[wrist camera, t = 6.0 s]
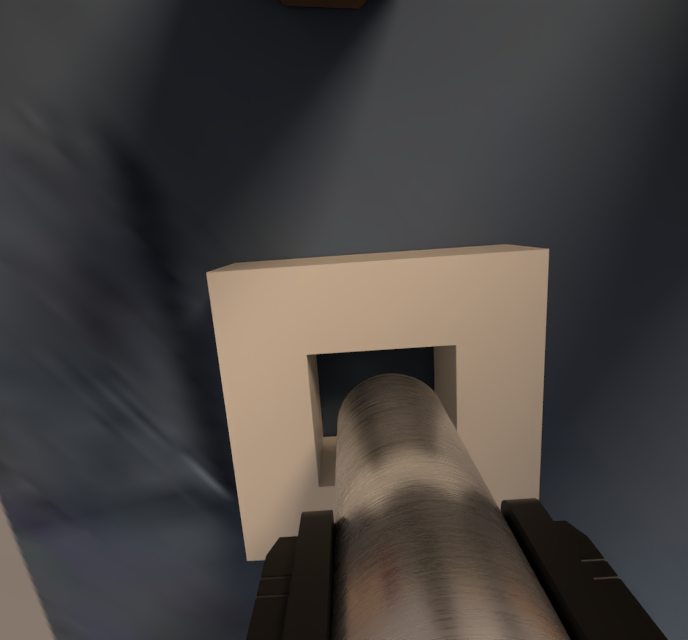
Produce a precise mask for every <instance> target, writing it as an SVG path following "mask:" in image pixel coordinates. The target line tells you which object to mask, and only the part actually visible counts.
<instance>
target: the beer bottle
mask: <svg viewBox="0 0 688 640" xmlns="http://www.w3.org/2000/svg"><path fill="white" fill-rule="evenodd" d="M279 1H280V2H281V3H282V4H283V5H284V6H304V7H329V8H353V9H359V8H360V7H361V6H362V5H363V4H364V3H365V2H366V1H367V0H279Z"/></svg>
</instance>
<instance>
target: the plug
mask: <svg viewBox="0 0 688 640" xmlns="http://www.w3.org/2000/svg"><path fill="white" fill-rule="evenodd" d="M330 640H571V639H570V637H569V635H568V633H567V632H566V630H565V628H564V626H563V624H562V622H561V621H560V619H559V617H558V615H557V613H556V611H555V610H554V608H553V606H552V604H551V602H550V601H549V599H548V597H547V595H546V593H545V591H544V590H543V588H542V586H541V584H540V582H539V580H538V579H537V577H536V575H535V573H534V571H533V569H532V568H531V566H530V564H529V562H528V560H527V559H526V557H525V555H524V553H523V551H522V549H521V548H520V546H519V544H518V542H517V540H516V538H515V537H514V535H513V533H512V531H511V529H510V527H509V526H508V524H507V522H506V520H505V518H504V517H503V515H502V513H501V511H500V509H499V507H498V506H497V504H496V502H495V500H494V498H493V496H492V495H491V493H490V491H489V489H488V487H487V485H486V484H485V482H484V480H483V478H482V476H481V474H480V473H479V471H478V469H477V467H476V465H475V464H474V462H473V460H472V458H471V456H470V454H469V453H468V451H467V449H466V447H465V445H464V443H463V442H462V440H461V438H460V436H459V434H458V432H457V431H456V429H455V427H454V425H453V423H452V422H451V420H450V418H449V416H448V414H447V412H446V411H445V409H444V407H443V405H442V403H441V401H440V400H439V398H438V396H437V395H436V394H435V392H434V391H433V390H432V389H431V388H430V387H429V386H428V385H426V384H425V383H424V382H422V381H420V380H419V379H417V378H414V377H412V376H408V375H404V374H398V373H387V374H381V375H377V376H373V377H371V378H368V379H366V380H365V381H363V382H361V383H360V384H358V385H357V386H356V387H354V388H353V389H352V390H351V391H350V393H349V394H348V395H347V396H346V398H345V399H344V401H343V403H342V405H341V407H340V410H339V414H338V421H337V446H336V473H335V499H334V549H333V577H332V606H331V634H330Z"/></svg>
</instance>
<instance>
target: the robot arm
mask: <svg viewBox="0 0 688 640" xmlns="http://www.w3.org/2000/svg"><path fill="white" fill-rule="evenodd" d="M500 511H501V513H502V515H503V517H504V518H505V520H506V522H507V524H508V526H509V527H510V529H511V531H512V533H513V535H514V537H515V538H516V540H517V542H518V544H519V546H520V548H521V549H522V551H523V553H524V555H525V557H526V559H527V560H528V562H529V564H530V566H531V568H532V569H533V571H534V573H535V575H536V577H537V579H538V580H539V582H540V584H541V586H542V588H543V590H544V591H545V593H546V595H547V597H548V599H549V601H550V602H551V604H552V606H553V608H554V610H555V611H556V613H557V615H558V617H559V619H560V621H561V622H562V624H563V626H564V628H565V630H566V632H567V633H568V635H569V637H570V639H571V640H668V639H667V638H666V637H665V635H664V634H663V633H662V632H661V630H660V629H659V628H658V626H657V625H656V624H655V623H654V621H653V620H652V619H651V617H650V616H649V615H648V614H647V612H646V611H645V610H644V608H643V607H642V606H641V605H640V603H639V602H638V601H637V600H636V598H635V597H634V596H633V594H632V593H631V592H630V591H629V589H628V588H627V587H626V585H625V584H624V583H623V582H622V580H621V579H618V577H617V574H616V573H615V571H614V570H613V569H612V567H611V566H610V565H609V564H608V562H607V561H604V557H603V556H602V555H601V553H600V552H599V551H598V549H597V548H596V547H595V546H594V544H593V543H592V542H591V540H590V539H589V538H588V537H587V536H586V535H584V534H583V533H582V532H580V531H579V530H578V529H576V528H575V527H573V526H572V525H571V524H569V523H568V522H567V521H553V520H552V518H551V517H550V515H549V514H548V513H547V511H546V510H545V508H544V507H543V506H542V504H541V503H540V501H539V500H538V499H536V498H527V499H510V500H503V501H502V502H501V509H500ZM333 549H334V515H333V510H322V511H306V512H302V514H301V519H300V526H299V532H298V536H291V537H279V539H278V540H277V541H276V543H275V544H274V545H273V547H272V548H271V550H270V551H269V552H268V554H267V555H266V558H265V563H264V567H263V571H262V575H261V581H260V584H259V588H258V592H257V599H256V601H255V605H254V609H253V613H252V617H251V622H250V626H249V630H248V634H247V638H246V640H330V634H331V606H332V577H333Z"/></svg>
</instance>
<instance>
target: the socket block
mask: <svg viewBox="0 0 688 640" xmlns="http://www.w3.org/2000/svg"><path fill="white" fill-rule="evenodd" d="M548 265H549V249H545V248H536V247H526V246H517V245H508V244H501V245H487V246H472V247H458V248H443V249H429V250H414V251H400V252H385V253H371V254H356V255H342V256H327V257H313V258H298V259H284V260H269V261H255V262H240V263H233V264H230V265H227V266H224V267H221V268H218V269H215V270H212V271H209V272H206V275H207V282H208V289H209V296H210V303H211V310H212V317H213V324H214V331H215V338H216V345H217V352H218V359H219V367H220V374H221V381H222V388H223V395H224V402H225V409H226V416H227V423H228V430H229V437H230V444H231V451H232V458H233V465H234V472H235V479H236V486H237V494H238V501H239V508H240V515H241V522H242V529H243V536H244V543H245V550H246V557H247V561H256V560H265V558H266V555H267V554H268V552H269V551H270V550H271V548H272V547H273V545H274V544H275V543H276V541H277V540H278V539H279V537H291V536H298V532H299V526H300V519H301V514H302V512H306V511H322V510H333V515H334V499H335V473H336V446H337V436H331V437H323V426H322V415H321V403H320V392H319V380H318V369H317V357H316V354H326V353H341V352H356V351H371V350H386V349H402V348H417V347H432V346H434V389H435V394H436V395H437V396H438V398H439V400H440V401H441V403H442V405H443V407H444V409H445V411H446V412H447V414H448V416H449V418H450V420H451V422H452V423H453V425H454V427H455V429H456V431H457V432H458V434H459V436H460V438H461V440H462V442H463V443H464V445H465V447H466V449H467V451H468V453H469V454H470V456H471V458H472V460H473V462H474V464H475V465H476V467H477V469H478V471H479V473H480V474H481V476H482V478H483V480H484V482H485V484H486V485H487V487H488V489H489V491H490V493H491V495H492V496H493V498H494V500H495V502H496V504H497V506H498V507H499V509H501V502H502V501H503V500H510V499H527V498H536V499H538V500H539V485H540V461H541V436H542V412H543V387H544V363H545V338H546V314H547V289H548Z"/></svg>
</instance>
